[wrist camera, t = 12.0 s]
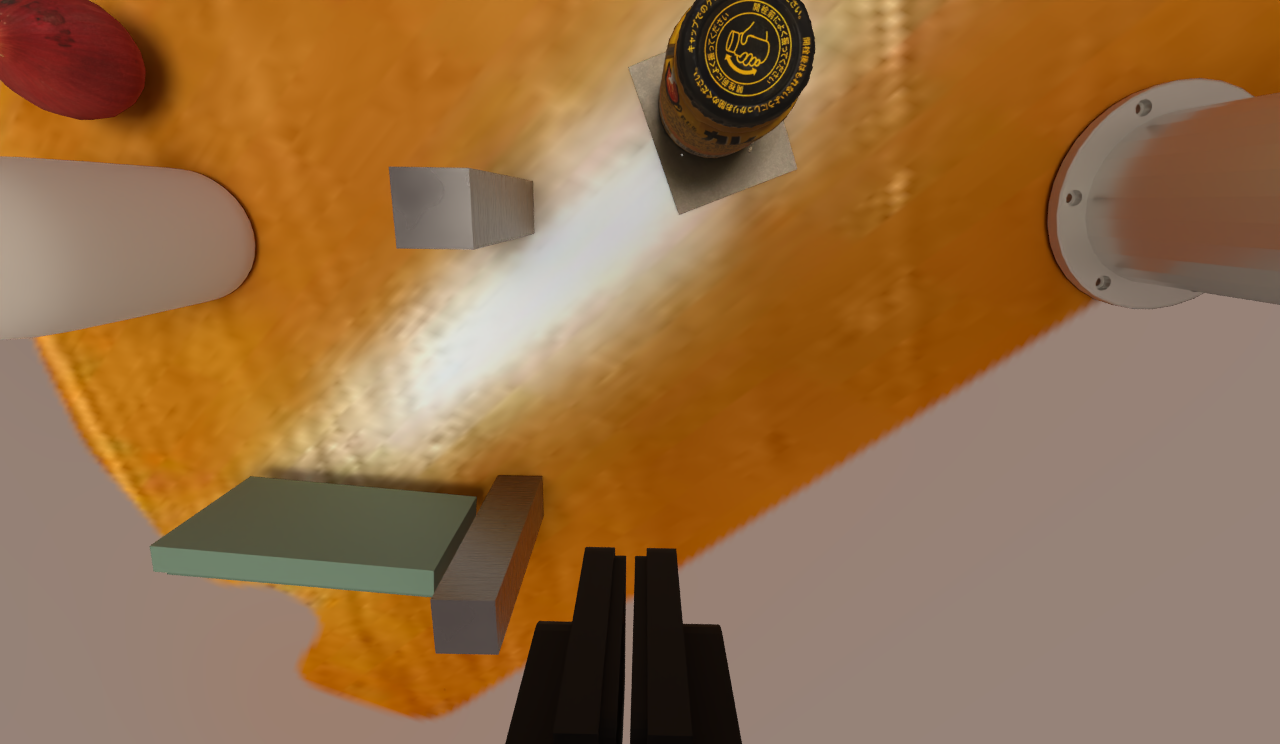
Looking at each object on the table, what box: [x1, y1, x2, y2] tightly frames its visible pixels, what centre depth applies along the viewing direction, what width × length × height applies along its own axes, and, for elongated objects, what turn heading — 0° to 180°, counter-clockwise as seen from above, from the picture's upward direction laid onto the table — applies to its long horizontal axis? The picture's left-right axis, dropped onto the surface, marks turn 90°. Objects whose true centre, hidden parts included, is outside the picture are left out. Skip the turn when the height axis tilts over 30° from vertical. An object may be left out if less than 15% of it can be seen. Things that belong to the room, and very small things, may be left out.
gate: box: [150, 476, 477, 597], centre depth 34 cm, size 14×2×8 cm, turn 85°
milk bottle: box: [0, 157, 256, 340], centre depth 26 cm, size 8×8×20 cm
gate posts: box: [389, 167, 544, 655], centre depth 31 cm, size 3×22×13 cm, turn 179°
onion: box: [0, 0, 146, 120], centre depth 29 cm, size 6×6×8 cm
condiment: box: [628, 0, 815, 214], centre depth 28 cm, size 7×8×12 cm
